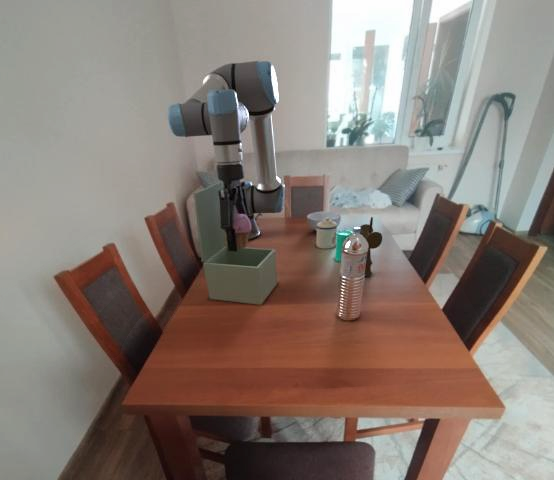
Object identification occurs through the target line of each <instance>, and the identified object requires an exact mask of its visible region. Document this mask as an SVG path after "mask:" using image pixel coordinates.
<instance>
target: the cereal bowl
mask: <svg viewBox="0 0 554 480" xmlns="http://www.w3.org/2000/svg"><path fill="white" fill-rule="evenodd" d="M325 218H329V220H331V221H332V222H335V223H337V227H339V225H340V224H341V220H342V215H341V213H340V212H337V211H329V210H328V211H327V210H325V211H324V210H323V211H315V212H311V213H309V214H307V216H306V223H307V225H308V227H309V228H310V229H311V230H314V231H315V232H317V227H316V225H317V224H318V223H319V222H322V221H323V220H325Z"/></svg>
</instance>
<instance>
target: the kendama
mask: <svg viewBox="0 0 554 480" xmlns="http://www.w3.org/2000/svg"><path fill="white" fill-rule="evenodd" d="M373 222H374V217H373V216H371V217H370V220H369V223H364V224H362V225H360V226H359V227H360V228H361V230H360V234H361V235H362V236H363V237H364V238H365V239H366V241H367V243H368V245H369V247H368V252H367V259H366V267H365V277H364V278H367V277H370V276H372V275H373V271H372V269H371V267H372V266H373V261H372V257H371V256H372V255H371V249H373V250H374V249H377V248H379V247H380V246H381V244H382V243H383V234H382V233H381V232H379V231H374V227H373V224H374V223H373Z"/></svg>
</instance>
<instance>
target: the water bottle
mask: <svg viewBox="0 0 554 480" xmlns="http://www.w3.org/2000/svg"><path fill="white" fill-rule="evenodd" d="M360 230H361V228H360V226H354V227H352V235H350V236H349V237H348V238H346V240H345V241H344V242H343V244H342V256H341V262H340V269H339V270H340V271H339V277H338V289H337V301H336V316H337V317H338V319H340V320H343V321H348V322H349V321H354V320H357V319H358V318H359V317H360V315H361V309H362V300H363V292H364V286H365V285H364V284H365V278H366V277H365V267H366V259H367V252H368V247H369V245H368V243H367V241H366V239H365V238H364V237H363V236H362V235H361V234H360Z"/></svg>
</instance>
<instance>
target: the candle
mask: <svg viewBox="0 0 554 480" xmlns="http://www.w3.org/2000/svg"><path fill="white" fill-rule="evenodd" d="M352 234H353V230H346V229H345V230H337V231H336V245H335V255H334V256H335V258H334V259H335V261H337V262H339V263H341V256H342V244H343V242H344V241H345V240H346V238H348V237H349V236H350V235H352Z"/></svg>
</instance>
